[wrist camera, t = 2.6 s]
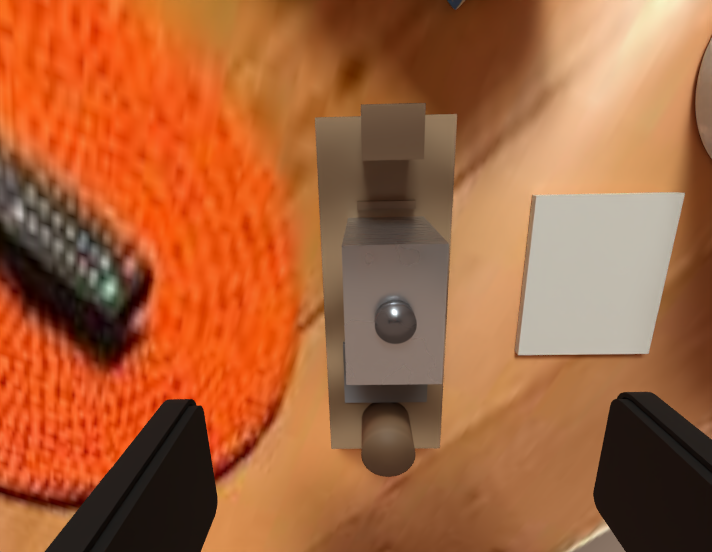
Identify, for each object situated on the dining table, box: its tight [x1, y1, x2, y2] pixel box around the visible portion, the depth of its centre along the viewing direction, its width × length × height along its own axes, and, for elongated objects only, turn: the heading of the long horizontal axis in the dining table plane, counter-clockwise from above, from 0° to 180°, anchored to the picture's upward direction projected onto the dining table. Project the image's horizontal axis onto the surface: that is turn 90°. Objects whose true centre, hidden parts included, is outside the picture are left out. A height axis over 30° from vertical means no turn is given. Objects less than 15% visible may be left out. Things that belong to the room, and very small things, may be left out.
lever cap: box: [342, 216, 449, 385], centre depth 18 cm, size 6×4×7 cm, turn 1°
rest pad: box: [515, 192, 685, 355], centre depth 26 cm, size 11×9×1 cm
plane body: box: [315, 103, 457, 477], centre depth 22 cm, size 20×7×10 cm, turn 1°
